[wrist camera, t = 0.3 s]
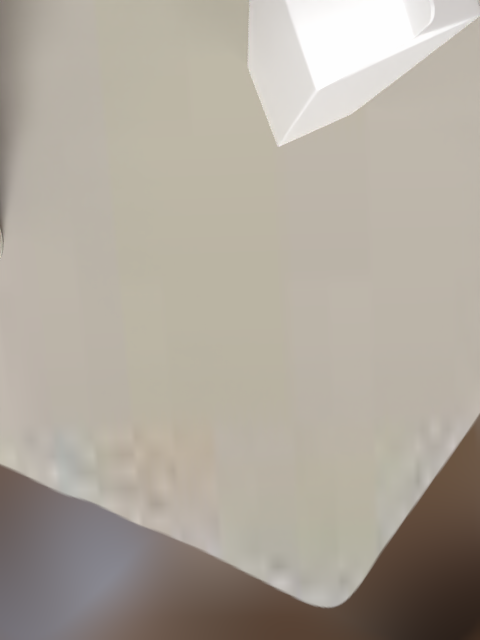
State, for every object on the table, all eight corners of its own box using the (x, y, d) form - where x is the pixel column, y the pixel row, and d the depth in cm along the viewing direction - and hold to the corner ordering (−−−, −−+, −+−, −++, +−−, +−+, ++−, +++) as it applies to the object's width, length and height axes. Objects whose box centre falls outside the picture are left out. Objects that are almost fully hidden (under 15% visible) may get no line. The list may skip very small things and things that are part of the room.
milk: (277, 147, 34) (329, 72, 13) (246, 65, 33) (246, -176, 11) (354, 113, 33) (545, -29, 12) (326, 27, 32) (486, -307, 11)
